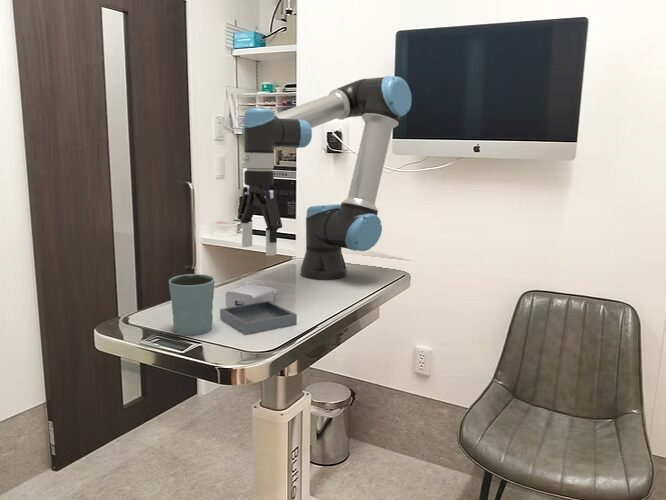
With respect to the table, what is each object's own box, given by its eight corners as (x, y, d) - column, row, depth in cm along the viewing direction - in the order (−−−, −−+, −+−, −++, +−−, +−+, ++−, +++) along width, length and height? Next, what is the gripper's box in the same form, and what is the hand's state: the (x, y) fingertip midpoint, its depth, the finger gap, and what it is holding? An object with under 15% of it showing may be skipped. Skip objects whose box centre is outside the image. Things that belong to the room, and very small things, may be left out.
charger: (287, 299, 154) (253, 313, 141) (260, 294, 158) (225, 307, 146) (287, 283, 153) (253, 295, 140) (260, 278, 157) (225, 290, 145)
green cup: (207, 320, 135) (205, 272, 132) (222, 332, 126) (221, 281, 124) (165, 326, 129) (163, 277, 127) (178, 340, 121) (176, 287, 119)
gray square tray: (269, 310, 143) (269, 300, 143) (296, 324, 133) (296, 314, 132) (220, 318, 136) (220, 309, 135) (245, 334, 125) (245, 324, 124)
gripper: (225, 167, 151) (225, 244, 155) (269, 172, 131) (268, 260, 135) (250, 167, 155) (250, 242, 159) (296, 172, 135) (295, 257, 139)
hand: (258, 250), depth 147 cm, fingers open, 13 cm apart
